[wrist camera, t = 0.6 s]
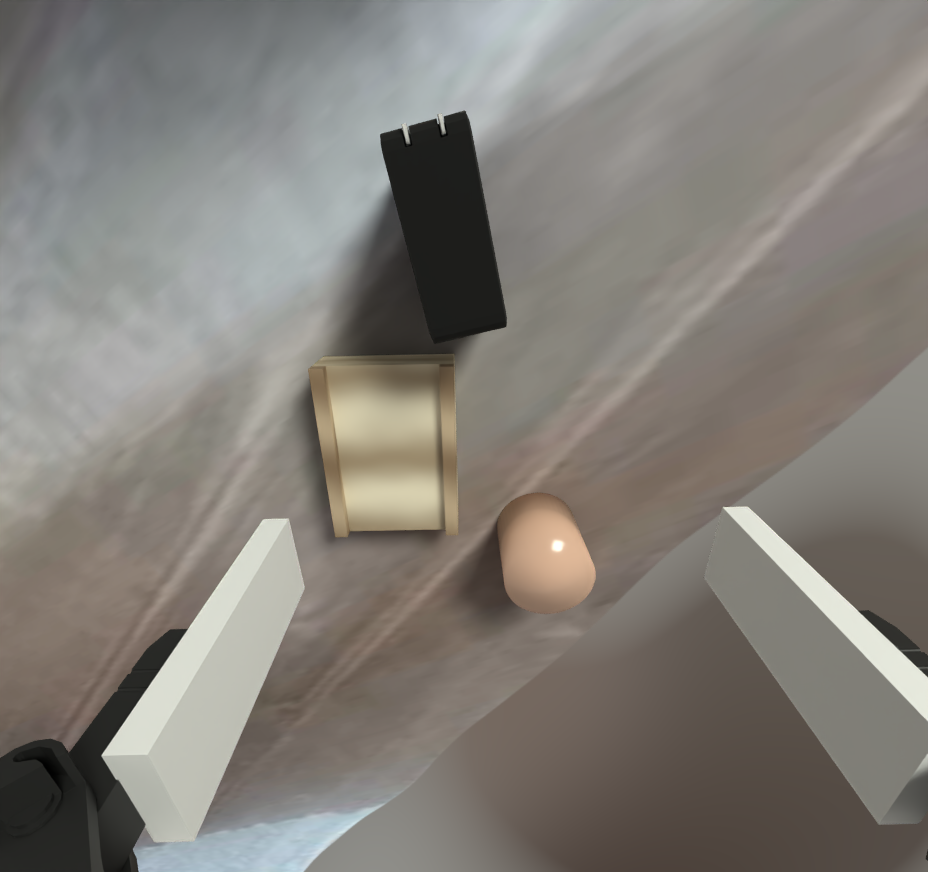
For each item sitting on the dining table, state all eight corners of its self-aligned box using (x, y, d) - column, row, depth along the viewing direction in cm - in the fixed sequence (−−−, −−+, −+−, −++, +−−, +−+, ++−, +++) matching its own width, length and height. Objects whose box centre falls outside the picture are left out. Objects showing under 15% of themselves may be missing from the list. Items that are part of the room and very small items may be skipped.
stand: (323, 356, 34) (308, 369, 30) (454, 353, 34) (453, 366, 30) (346, 511, 39) (335, 537, 36) (458, 509, 39) (458, 534, 36)
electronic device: (440, 318, 33) (432, 347, 24) (402, 165, 29) (375, 129, 20) (495, 305, 32) (509, 329, 23) (464, 148, 28) (467, 104, 19)
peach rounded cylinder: (497, 493, 39) (505, 543, 32) (577, 492, 39) (600, 541, 32) (496, 557, 42) (503, 614, 35) (570, 555, 42) (590, 612, 35)
